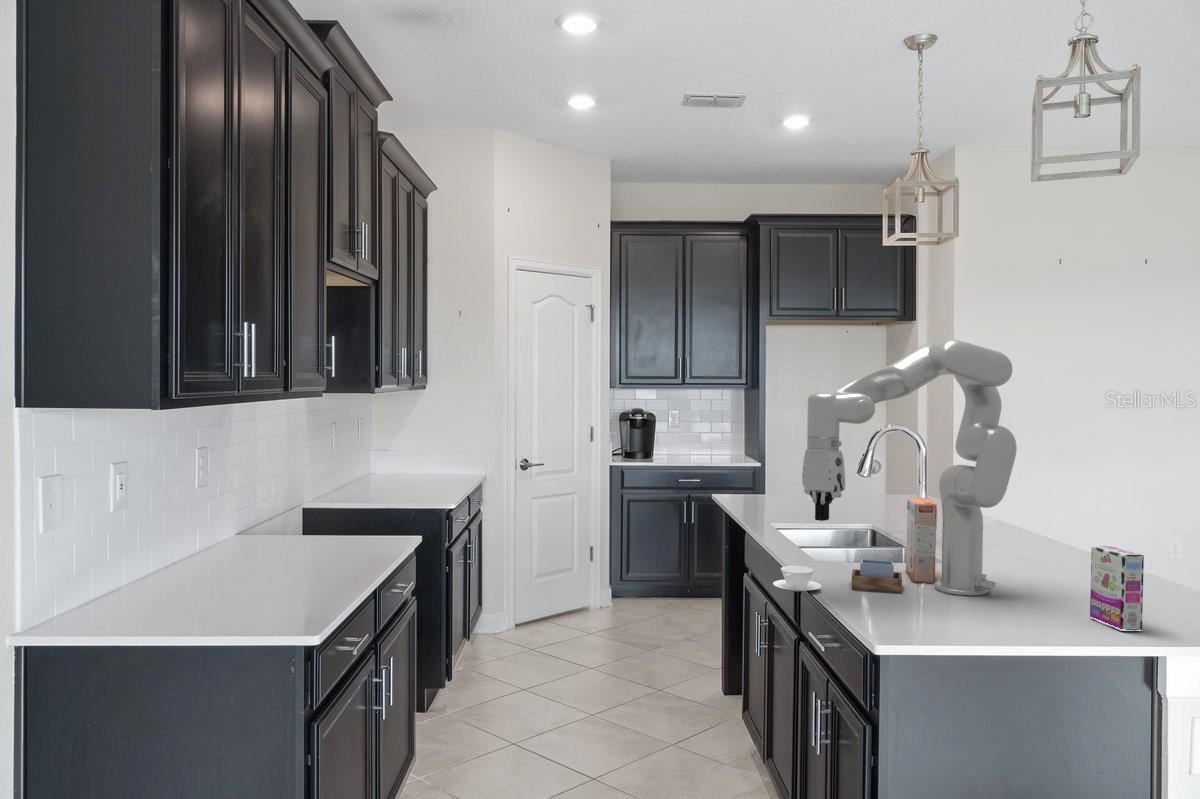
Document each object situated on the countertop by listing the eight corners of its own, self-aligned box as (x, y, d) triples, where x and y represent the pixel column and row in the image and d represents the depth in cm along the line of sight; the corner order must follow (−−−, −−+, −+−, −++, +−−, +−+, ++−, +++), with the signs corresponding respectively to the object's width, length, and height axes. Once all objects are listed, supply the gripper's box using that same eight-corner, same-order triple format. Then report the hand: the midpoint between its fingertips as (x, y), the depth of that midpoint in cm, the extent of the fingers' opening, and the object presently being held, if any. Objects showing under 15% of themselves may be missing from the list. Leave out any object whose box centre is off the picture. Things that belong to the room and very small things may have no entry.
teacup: (766, 592, 225) (767, 570, 225) (780, 582, 236) (780, 562, 236) (814, 597, 220) (814, 576, 220) (826, 587, 230) (826, 567, 230)
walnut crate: (901, 585, 233) (901, 572, 233) (901, 593, 224) (901, 579, 224) (852, 582, 236) (852, 569, 236) (851, 590, 228) (851, 576, 228)
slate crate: (893, 584, 232) (893, 561, 232) (893, 589, 226) (893, 565, 226) (860, 582, 234) (861, 559, 234) (860, 586, 229) (860, 563, 229)
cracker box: (936, 584, 235) (937, 504, 235) (912, 582, 237) (913, 503, 236) (928, 572, 249) (929, 497, 249) (905, 571, 250) (906, 496, 250)
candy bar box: (1144, 632, 191) (1145, 555, 191) (1121, 632, 191) (1123, 555, 190) (1109, 618, 202) (1111, 545, 202) (1088, 618, 202) (1089, 545, 201)
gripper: (858, 445, 215) (857, 522, 215) (810, 442, 227) (809, 514, 227) (836, 446, 210) (835, 525, 211) (789, 442, 223) (788, 517, 223)
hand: (822, 519), depth 219 cm, fingers closed
